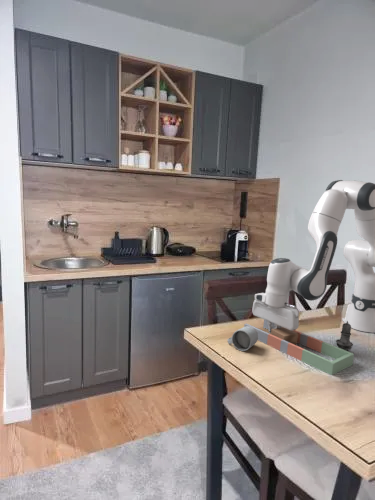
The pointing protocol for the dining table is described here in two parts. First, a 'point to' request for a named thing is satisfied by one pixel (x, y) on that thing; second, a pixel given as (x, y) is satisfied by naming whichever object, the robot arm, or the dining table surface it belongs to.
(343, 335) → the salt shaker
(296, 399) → the dining table surface
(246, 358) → the dining table surface
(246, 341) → the ceramic mug
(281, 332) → the walnut block
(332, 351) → the frame
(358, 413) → the dining table surface
